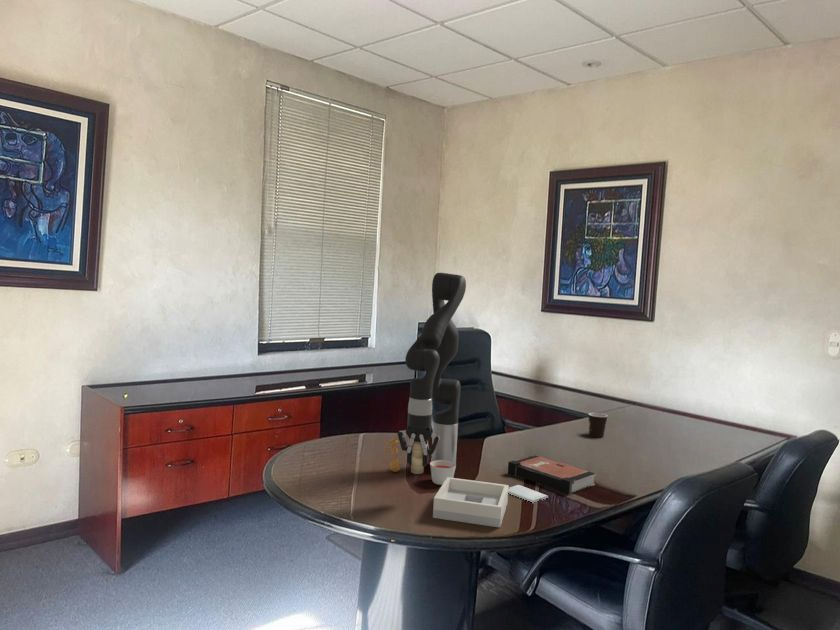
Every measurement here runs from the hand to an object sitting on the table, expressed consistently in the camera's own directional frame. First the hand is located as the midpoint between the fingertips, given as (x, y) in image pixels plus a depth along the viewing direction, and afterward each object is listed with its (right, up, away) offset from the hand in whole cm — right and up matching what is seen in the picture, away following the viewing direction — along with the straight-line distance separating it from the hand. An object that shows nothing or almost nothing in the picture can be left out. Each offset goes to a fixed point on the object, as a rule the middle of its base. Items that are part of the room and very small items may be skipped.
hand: (417, 464), depth 198 cm
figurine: (-9, -9, +29) cm, 32 cm away
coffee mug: (+84, -9, +96) cm, 128 cm away
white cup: (+9, -11, +20) cm, 24 cm away
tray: (+17, -13, -5) cm, 22 cm away
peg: (0, -2, 0) cm, 2 cm away
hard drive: (+36, -14, +11) cm, 40 cm away
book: (+48, -13, +29) cm, 58 cm away
